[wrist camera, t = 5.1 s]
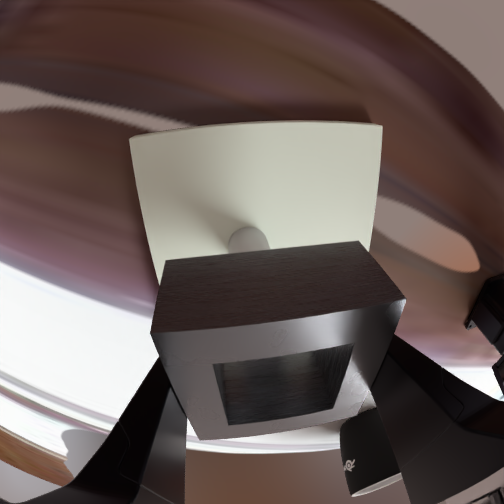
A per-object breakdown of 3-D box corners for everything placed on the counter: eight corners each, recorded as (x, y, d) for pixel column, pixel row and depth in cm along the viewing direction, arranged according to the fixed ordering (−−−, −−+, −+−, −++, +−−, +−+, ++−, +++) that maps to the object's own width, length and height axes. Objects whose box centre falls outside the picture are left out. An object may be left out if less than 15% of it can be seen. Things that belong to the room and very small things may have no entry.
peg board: (373, 123, 13) (468, 155, 7) (350, 303, 19) (393, 381, 13) (134, 135, 12) (69, 174, 6) (175, 324, 18) (169, 418, 12)
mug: (331, 418, 29) (355, 491, 20) (399, 393, 29) (429, 458, 20) (329, 447, 35) (346, 502, 27) (383, 428, 35) (404, 479, 27)
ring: (358, 240, 9) (406, 298, 6) (334, 359, 12) (356, 415, 9) (165, 260, 8) (149, 333, 6) (198, 378, 11) (199, 440, 9)
